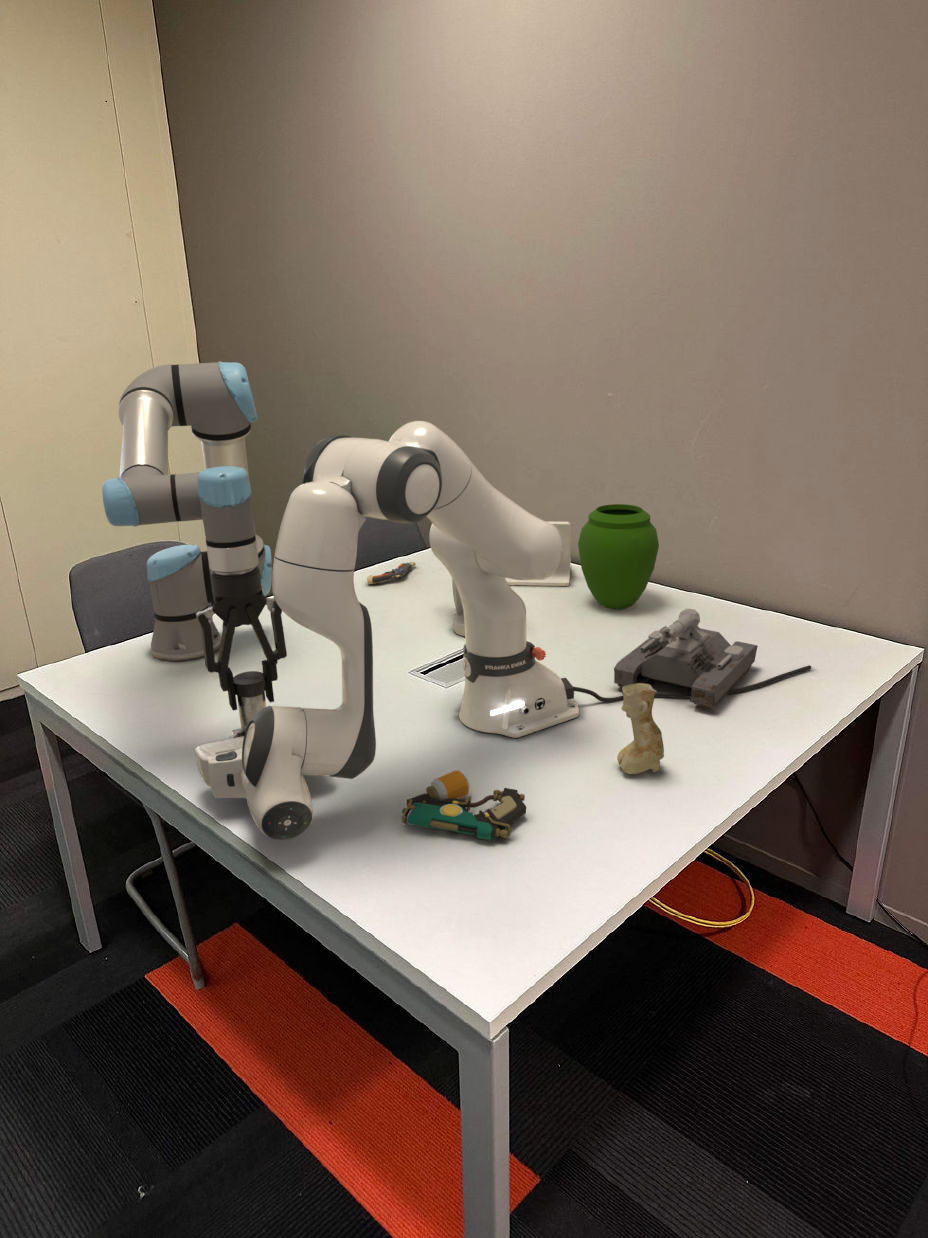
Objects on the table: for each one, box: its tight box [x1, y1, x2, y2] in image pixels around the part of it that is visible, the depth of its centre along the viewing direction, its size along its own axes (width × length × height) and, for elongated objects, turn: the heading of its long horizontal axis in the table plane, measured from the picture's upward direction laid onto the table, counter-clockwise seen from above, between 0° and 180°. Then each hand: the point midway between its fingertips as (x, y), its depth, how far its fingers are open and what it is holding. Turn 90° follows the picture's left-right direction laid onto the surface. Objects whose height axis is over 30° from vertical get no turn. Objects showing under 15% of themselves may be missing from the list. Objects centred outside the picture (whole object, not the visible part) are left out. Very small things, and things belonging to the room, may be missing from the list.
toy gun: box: [366, 561, 417, 585], centre depth 241 cm, size 3×19×10 cm
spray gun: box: [401, 769, 527, 841], centre depth 128 cm, size 4×17×15 cm
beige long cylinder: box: [236, 691, 267, 736], centre depth 142 cm, size 4×4×16 cm
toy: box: [613, 607, 758, 709], centre depth 170 cm, size 25×20×15 cm
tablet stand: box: [505, 521, 572, 587], centre depth 236 cm, size 18×25×17 cm
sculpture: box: [616, 683, 665, 775], centre depth 137 cm, size 6×7×15 cm
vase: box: [577, 503, 660, 610], centre depth 210 cm, size 20×20×24 cm
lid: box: [233, 670, 267, 697], centre depth 140 cm, size 6×6×2 cm
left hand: (251, 702), depth 141 cm, fingers closed on lid, 5 cm apart
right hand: (254, 729), depth 143 cm, fingers closed on beige long cylinder, 4 cm apart
